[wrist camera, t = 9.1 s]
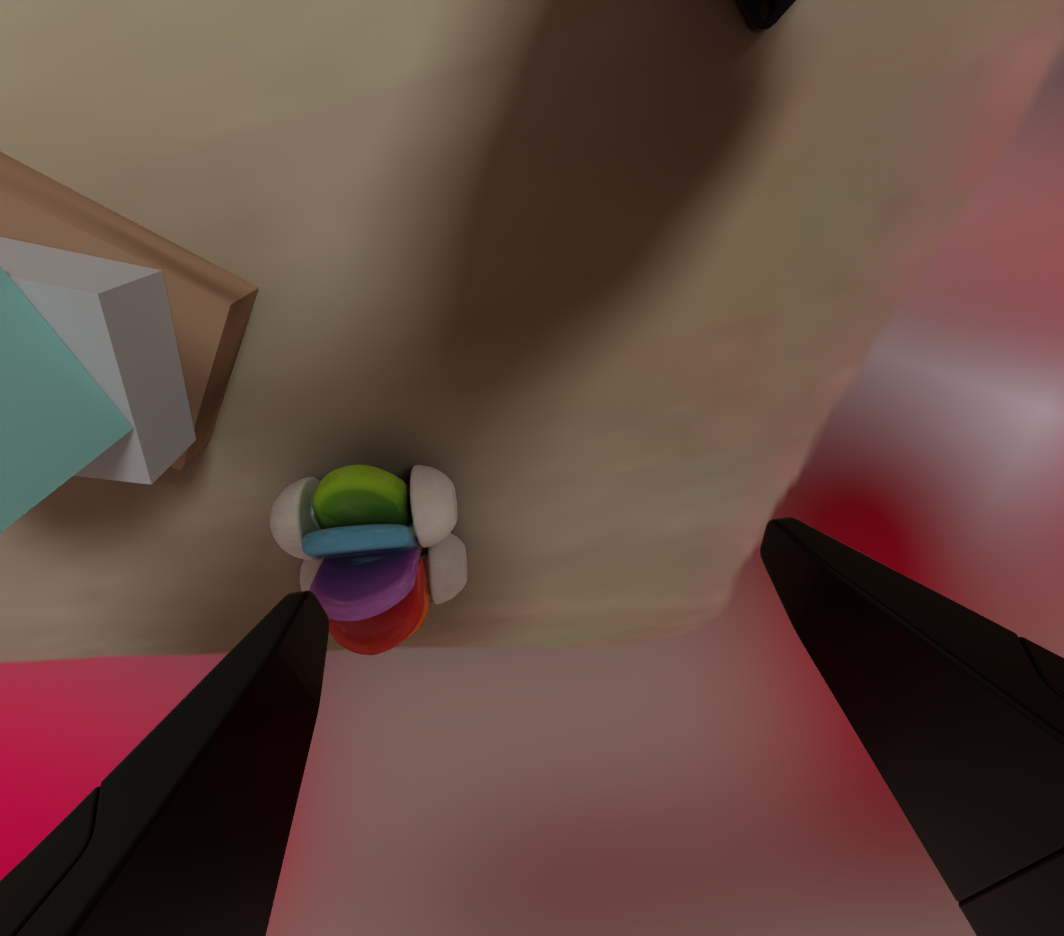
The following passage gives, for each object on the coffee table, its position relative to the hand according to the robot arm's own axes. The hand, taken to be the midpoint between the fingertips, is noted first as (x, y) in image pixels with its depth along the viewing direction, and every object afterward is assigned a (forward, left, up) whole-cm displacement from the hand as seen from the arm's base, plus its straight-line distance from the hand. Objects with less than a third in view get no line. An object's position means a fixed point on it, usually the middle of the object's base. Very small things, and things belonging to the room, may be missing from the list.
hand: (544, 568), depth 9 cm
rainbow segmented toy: (+12, +2, -13) cm, 18 cm away
